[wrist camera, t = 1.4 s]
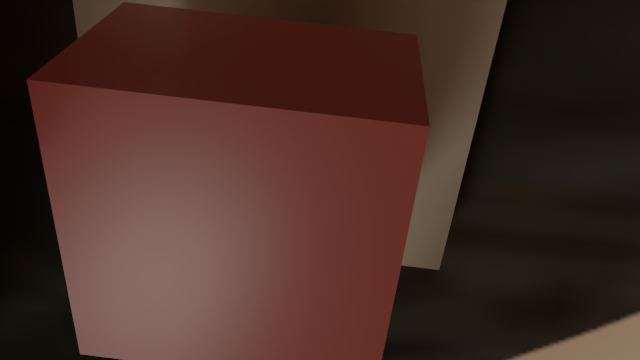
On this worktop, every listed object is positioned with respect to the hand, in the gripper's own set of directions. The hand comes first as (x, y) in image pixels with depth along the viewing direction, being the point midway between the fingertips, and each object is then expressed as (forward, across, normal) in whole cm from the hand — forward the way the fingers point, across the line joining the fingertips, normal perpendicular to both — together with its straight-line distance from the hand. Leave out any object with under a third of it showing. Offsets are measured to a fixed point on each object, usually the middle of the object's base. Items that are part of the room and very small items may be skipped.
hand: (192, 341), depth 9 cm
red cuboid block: (+6, 0, 0) cm, 6 cm away
